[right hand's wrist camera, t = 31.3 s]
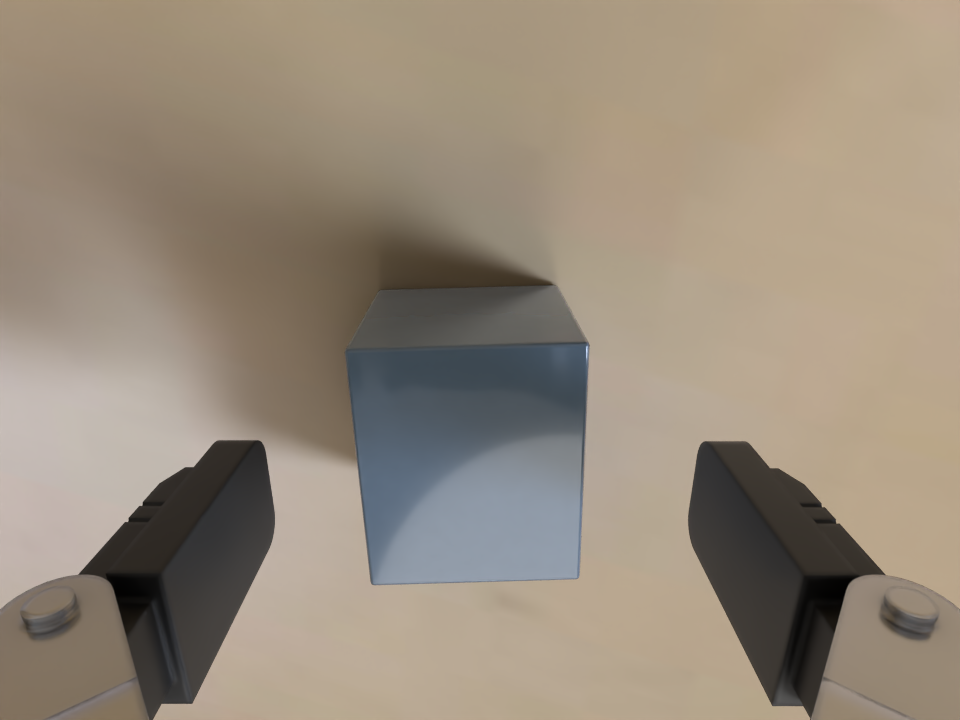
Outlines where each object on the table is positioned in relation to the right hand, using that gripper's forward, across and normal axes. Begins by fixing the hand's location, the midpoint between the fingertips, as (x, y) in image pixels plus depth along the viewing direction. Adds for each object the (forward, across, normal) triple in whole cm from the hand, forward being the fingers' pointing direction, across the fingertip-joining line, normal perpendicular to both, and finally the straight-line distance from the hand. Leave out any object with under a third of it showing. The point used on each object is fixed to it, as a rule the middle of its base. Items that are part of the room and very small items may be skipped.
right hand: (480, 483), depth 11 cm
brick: (+4, 0, 0) cm, 5 cm away
